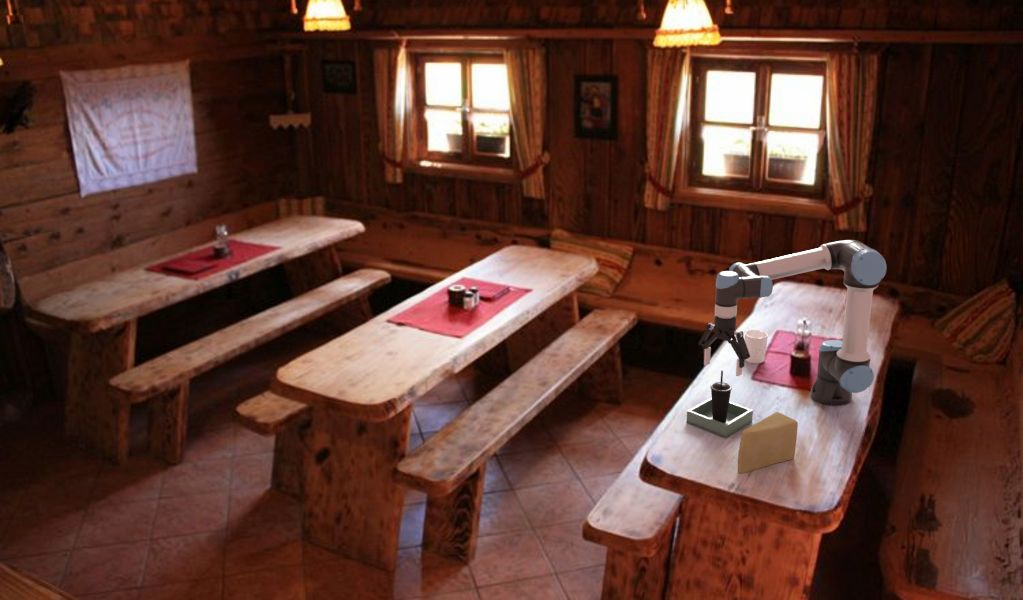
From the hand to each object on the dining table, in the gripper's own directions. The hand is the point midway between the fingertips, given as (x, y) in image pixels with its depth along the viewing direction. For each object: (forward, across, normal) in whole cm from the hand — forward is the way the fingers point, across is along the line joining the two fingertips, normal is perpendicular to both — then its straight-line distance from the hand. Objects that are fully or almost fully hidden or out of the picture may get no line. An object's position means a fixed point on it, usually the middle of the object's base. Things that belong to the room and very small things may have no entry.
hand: (722, 369), depth 320 cm
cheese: (+22, -27, +15) cm, 37 cm away
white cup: (+22, +22, -58) cm, 66 cm away
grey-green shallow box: (+21, 0, 0) cm, 21 cm away
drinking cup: (+20, 0, 0) cm, 21 cm away
